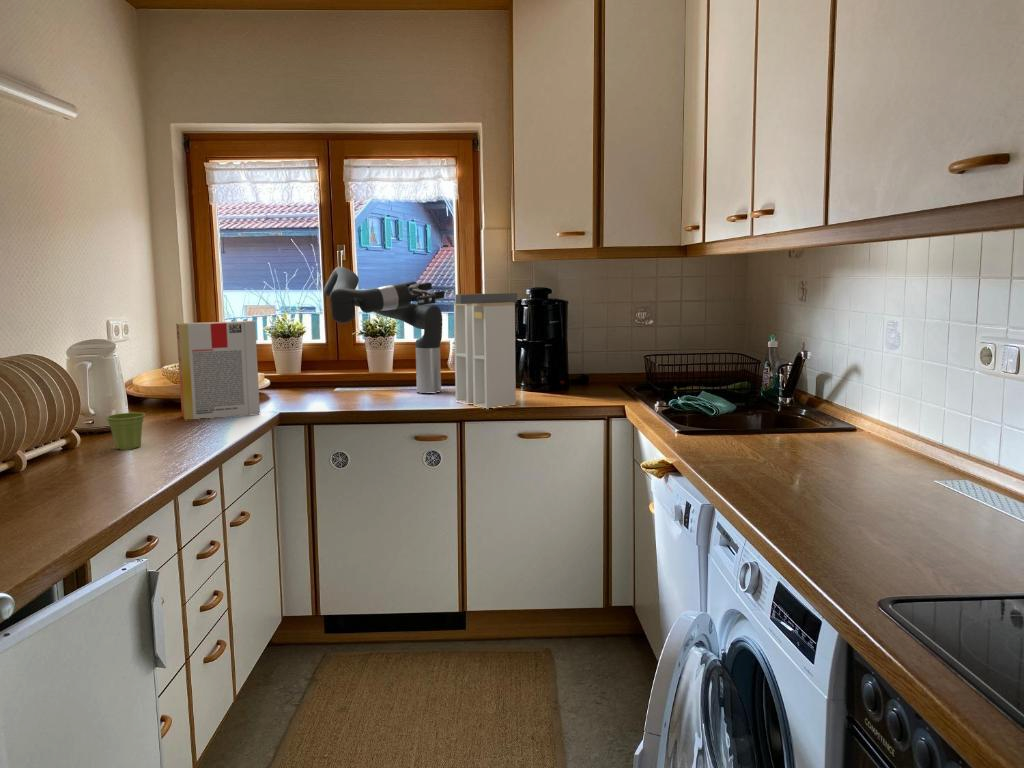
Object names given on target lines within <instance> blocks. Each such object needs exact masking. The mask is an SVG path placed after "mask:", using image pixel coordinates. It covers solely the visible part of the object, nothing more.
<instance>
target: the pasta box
mask: <svg viewBox="0 0 1024 768" xmlns="http://www.w3.org/2000/svg"><path fill="white" fill-rule="evenodd" d="M175 323H176V324H175V326H176V340H177V343H176V344H177V345H176V346H177V356H178V373H179V391H180V403H181V404H180V405H181V417H182V416H183V417H182V419H183V418H184V419H197V418H210V419H215V418H214V417H222V418H226V417H225V416H234V417H237V416H236V415H246V416H251V415H250V414H258V415H260V414H261V408H260V407H261V406H260V386H259V385H260V384H259V369H258V368H259V366H258V365H259V364H258V347H257V329H256V321H252V320H240V321H239V320H238V321H236V320H235V321H215V322H214V321H211V322H209V321H207V322H205V321H204V322H181V323H180V322H179V323H178V322H175ZM259 413H260V414H259ZM184 419H183V420H184Z"/></svg>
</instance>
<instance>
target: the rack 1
mask: <svg viewBox="0 0 1024 768" xmlns="http://www.w3.org/2000/svg"><path fill="white" fill-rule="evenodd" d="M453 327H454V329H453V332H454V335H453V336H454V376H455V377H454V382H455V383H454V385H455V391H454V393H455V401H456V400H457V401H461V402H465V403H473V348H472V304H456V301H454V302H453Z"/></svg>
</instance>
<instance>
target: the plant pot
mask: <svg viewBox="0 0 1024 768" xmlns="http://www.w3.org/2000/svg"><path fill="white" fill-rule="evenodd" d="M145 416H146V413H144V412H124V413H115V414H111V415H107V416H105V419H106V420H107V423H108V425H109V426H110V431H111V434H112V439H113V443H114V447H115V449H116V450H121V451H125V450H135V448H141V446H142V434H143V432H142V431H143V430H142V429H143V422H144V417H145Z"/></svg>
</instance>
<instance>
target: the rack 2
mask: <svg viewBox="0 0 1024 768" xmlns="http://www.w3.org/2000/svg"><path fill="white" fill-rule="evenodd" d="M472 348H473V405H478V406H482V407H485V408H486V409H485V410H490V409H489V408H492V407H498V406H505V405H513V404H516V405H517V401H516V399H517V397H516V395H517V394H516V393H517V391H516V389H517V387H516V384H517V383H516V382H517V381H516V302H502V303H474V304H472ZM473 405H472V406H473Z"/></svg>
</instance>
